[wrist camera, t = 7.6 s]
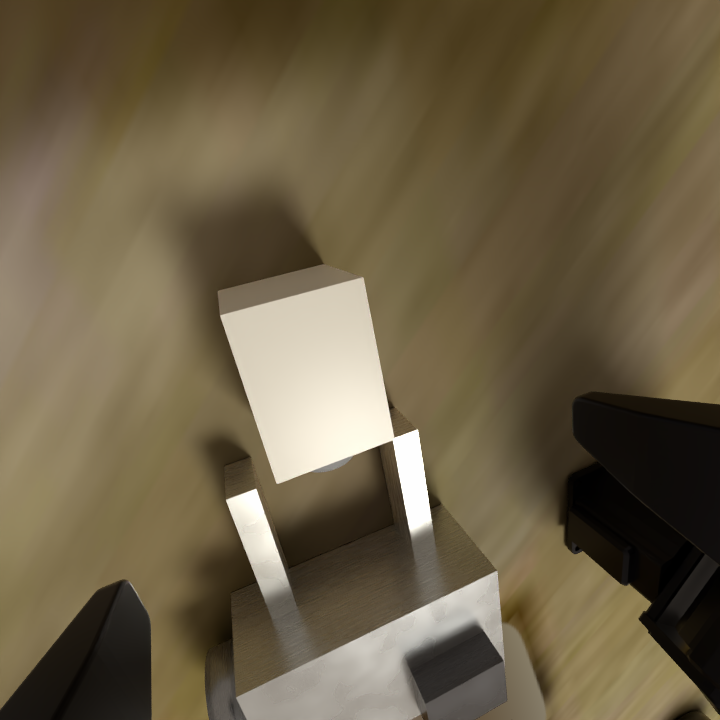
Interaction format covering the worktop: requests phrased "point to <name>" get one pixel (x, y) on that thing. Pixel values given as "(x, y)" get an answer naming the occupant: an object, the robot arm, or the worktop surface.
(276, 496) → the worktop surface
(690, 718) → the ink bottle
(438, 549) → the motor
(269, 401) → the white block
